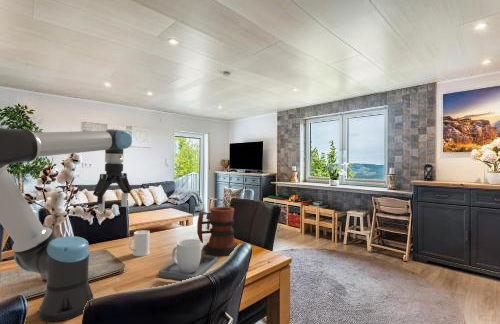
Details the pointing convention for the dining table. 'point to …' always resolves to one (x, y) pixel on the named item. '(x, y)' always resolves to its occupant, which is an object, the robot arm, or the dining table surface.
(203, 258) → the walnut block
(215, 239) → the tankard
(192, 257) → the mug
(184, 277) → the tray
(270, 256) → the dining table surface
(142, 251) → the mug
